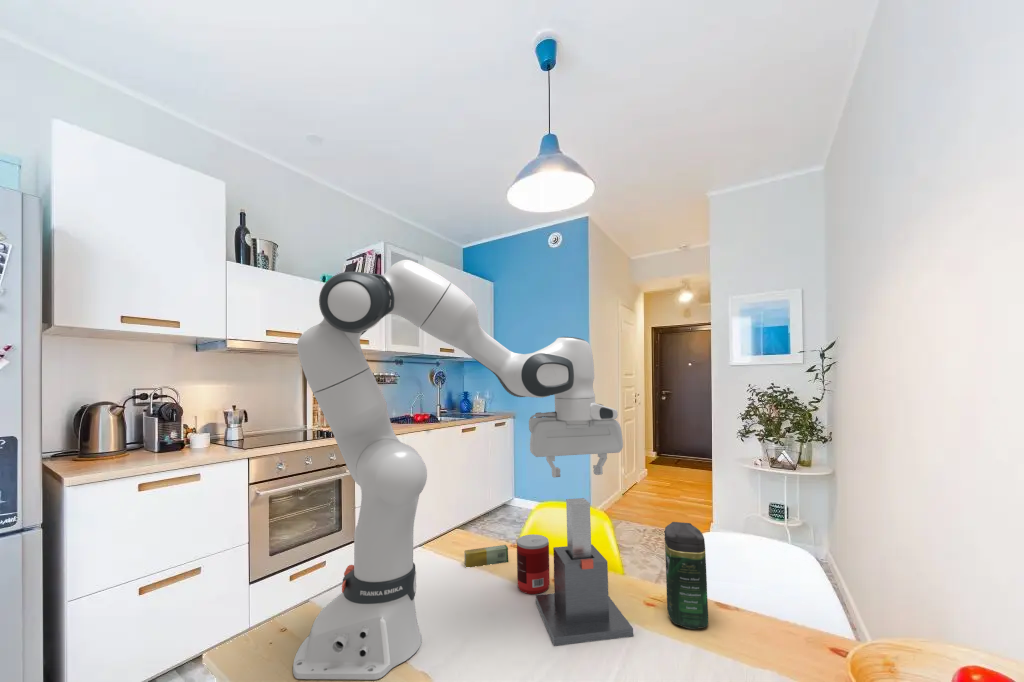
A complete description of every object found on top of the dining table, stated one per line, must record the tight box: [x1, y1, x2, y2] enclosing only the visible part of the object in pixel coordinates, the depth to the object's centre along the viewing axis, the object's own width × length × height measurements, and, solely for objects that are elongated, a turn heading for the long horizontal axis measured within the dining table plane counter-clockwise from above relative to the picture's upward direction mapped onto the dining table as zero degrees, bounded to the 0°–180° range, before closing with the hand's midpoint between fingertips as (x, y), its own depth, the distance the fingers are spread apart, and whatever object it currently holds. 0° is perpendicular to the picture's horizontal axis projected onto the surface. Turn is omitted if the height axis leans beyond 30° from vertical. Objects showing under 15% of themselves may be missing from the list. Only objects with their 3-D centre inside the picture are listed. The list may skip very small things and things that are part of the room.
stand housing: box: [535, 543, 634, 647], centre depth 91 cm, size 16×16×14 cm
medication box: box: [463, 544, 509, 568], centre depth 117 cm, size 12×3×4 cm, turn 106°
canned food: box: [516, 534, 551, 595], centre depth 104 cm, size 8×8×11 cm
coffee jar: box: [664, 521, 709, 630], centre depth 90 cm, size 10×8×19 cm
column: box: [565, 497, 592, 560], centre depth 91 cm, size 4×4×22 cm
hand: (577, 475), depth 92 cm, fingers open, 8 cm apart
